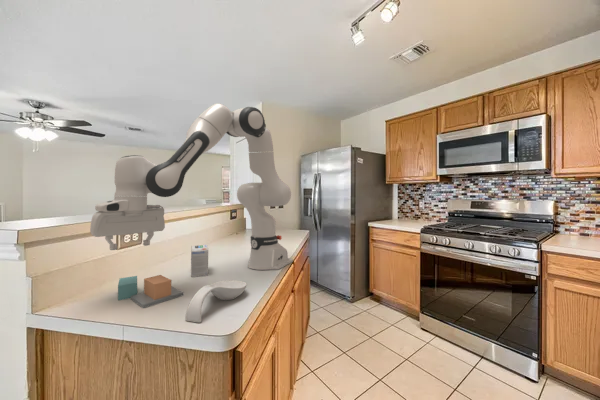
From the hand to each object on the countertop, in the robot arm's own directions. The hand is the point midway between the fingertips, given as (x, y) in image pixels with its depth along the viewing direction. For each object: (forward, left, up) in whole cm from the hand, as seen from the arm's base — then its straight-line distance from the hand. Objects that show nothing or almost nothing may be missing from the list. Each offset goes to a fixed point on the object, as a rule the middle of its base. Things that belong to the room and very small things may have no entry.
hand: (130, 247), depth 80 cm
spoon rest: (-15, +27, -16) cm, 35 cm away
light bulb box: (-27, -5, -16) cm, 32 cm away
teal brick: (0, -2, -16) cm, 16 cm away
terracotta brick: (-5, +8, -15) cm, 18 cm away
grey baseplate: (-5, +8, -16) cm, 18 cm away
